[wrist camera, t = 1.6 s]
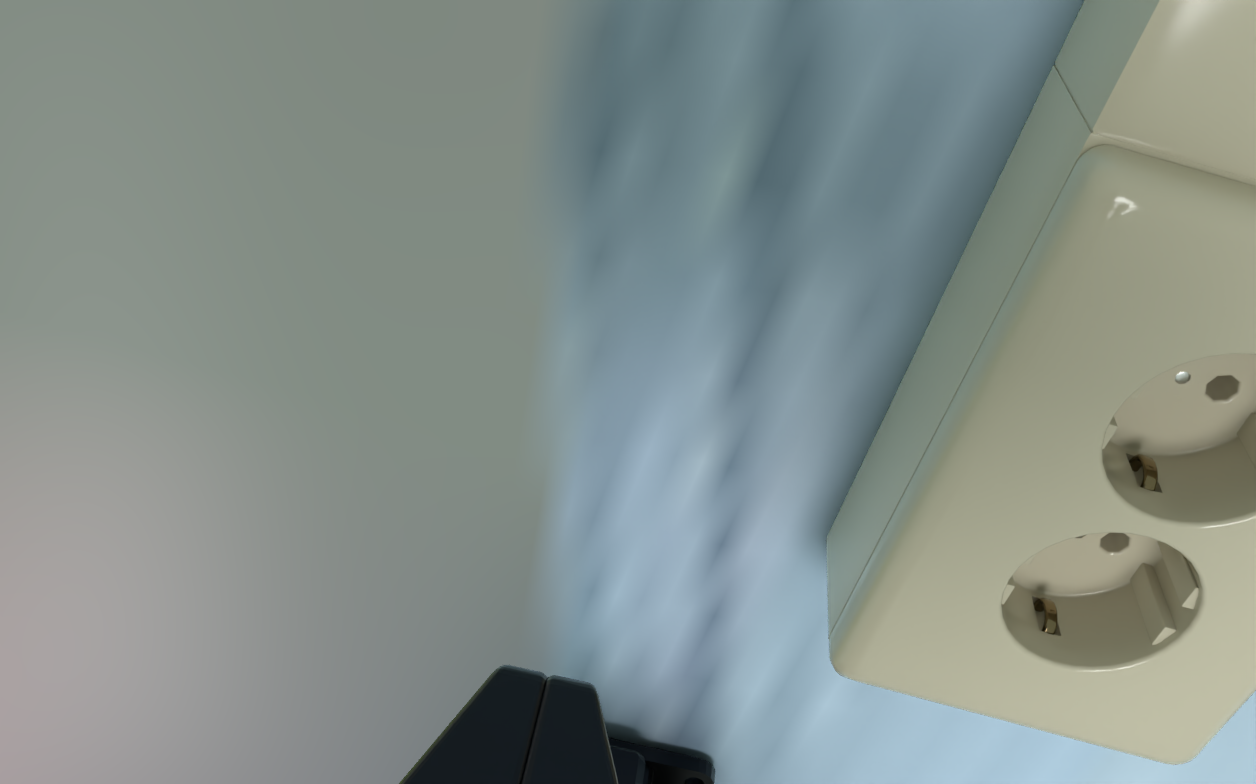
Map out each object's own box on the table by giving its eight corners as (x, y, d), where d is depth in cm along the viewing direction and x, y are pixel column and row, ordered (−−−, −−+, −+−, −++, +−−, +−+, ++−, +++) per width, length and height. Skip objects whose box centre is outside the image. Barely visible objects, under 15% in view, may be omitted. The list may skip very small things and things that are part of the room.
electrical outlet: (2203, -323, 10) (1190, 781, 21) (1866, -340, 14) (1137, 621, 24) (1486, -548, 10) (824, 684, 21) (1319, -509, 14) (821, 536, 24)
